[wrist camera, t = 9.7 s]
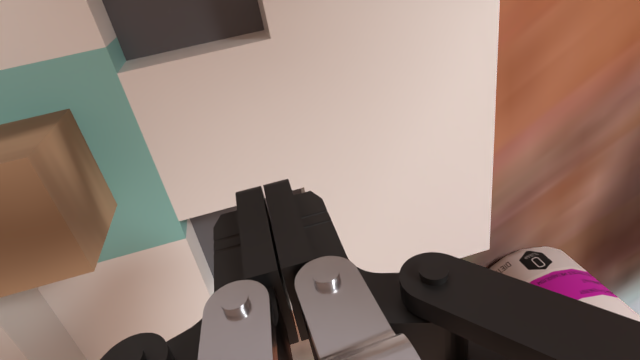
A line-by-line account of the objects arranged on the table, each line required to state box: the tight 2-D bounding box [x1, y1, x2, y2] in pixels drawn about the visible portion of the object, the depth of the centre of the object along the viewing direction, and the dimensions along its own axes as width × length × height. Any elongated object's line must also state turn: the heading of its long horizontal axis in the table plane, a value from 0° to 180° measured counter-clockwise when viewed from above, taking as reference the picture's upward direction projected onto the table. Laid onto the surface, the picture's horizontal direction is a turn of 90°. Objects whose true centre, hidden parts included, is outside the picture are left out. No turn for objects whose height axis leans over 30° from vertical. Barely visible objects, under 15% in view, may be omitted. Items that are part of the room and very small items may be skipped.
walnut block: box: [0, 108, 117, 298], centre depth 15 cm, size 4×4×4 cm
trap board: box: [0, 0, 500, 360], centre depth 18 cm, size 22×24×6 cm
